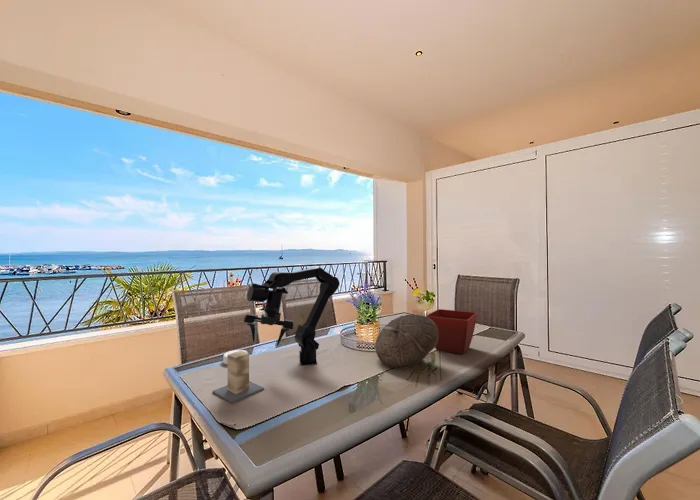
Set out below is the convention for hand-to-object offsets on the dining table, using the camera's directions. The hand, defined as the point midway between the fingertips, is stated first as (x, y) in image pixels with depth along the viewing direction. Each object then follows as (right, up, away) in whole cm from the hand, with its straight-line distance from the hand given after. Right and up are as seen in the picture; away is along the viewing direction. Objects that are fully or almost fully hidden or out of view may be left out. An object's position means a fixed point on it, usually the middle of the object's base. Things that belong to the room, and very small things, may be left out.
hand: (265, 343), depth 117 cm
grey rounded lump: (+57, -11, +11) cm, 59 cm away
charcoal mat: (-5, -12, -15) cm, 19 cm away
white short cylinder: (-17, -12, +14) cm, 25 cm away
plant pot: (+82, -11, +28) cm, 87 cm away
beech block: (-5, -11, -15) cm, 19 cm away
